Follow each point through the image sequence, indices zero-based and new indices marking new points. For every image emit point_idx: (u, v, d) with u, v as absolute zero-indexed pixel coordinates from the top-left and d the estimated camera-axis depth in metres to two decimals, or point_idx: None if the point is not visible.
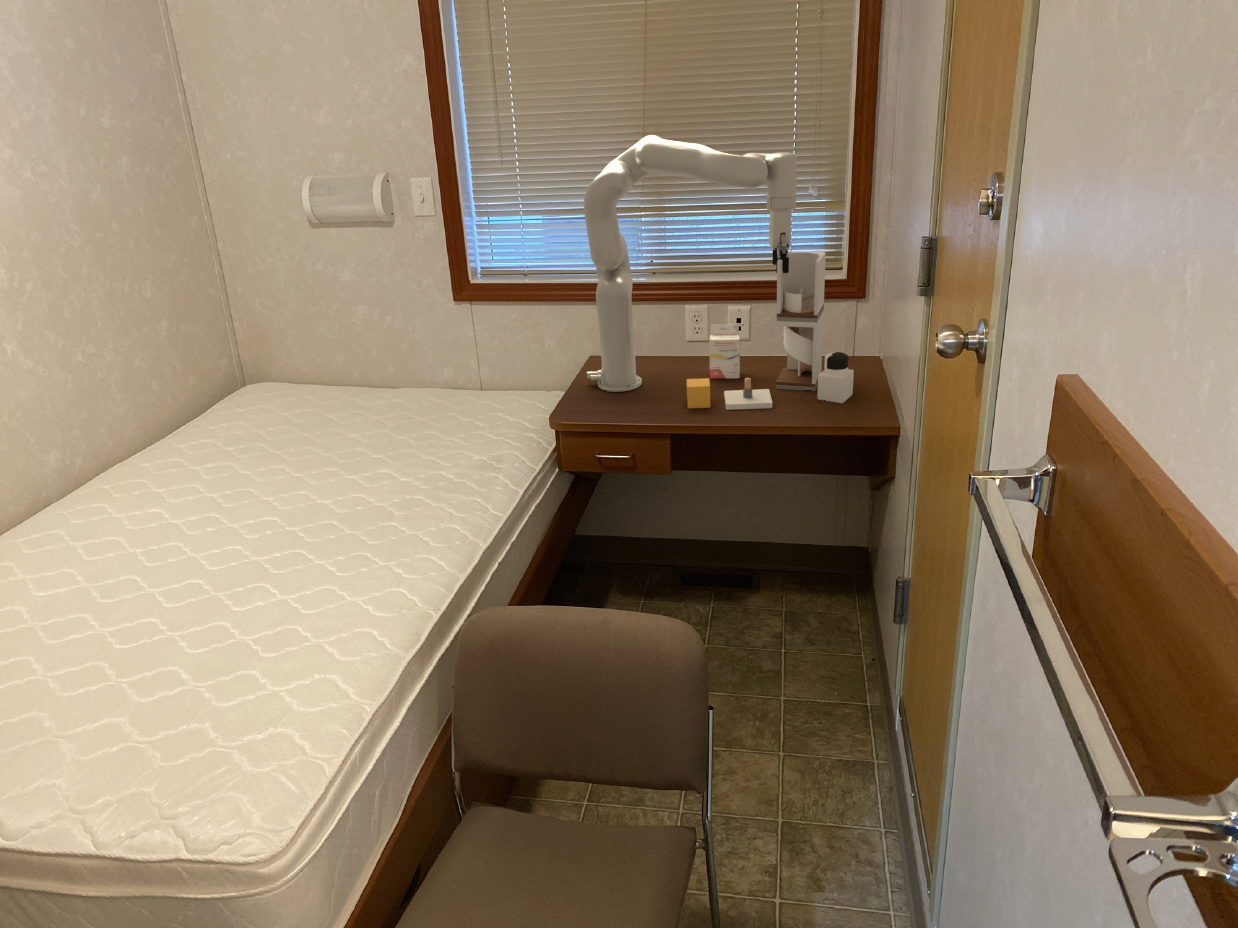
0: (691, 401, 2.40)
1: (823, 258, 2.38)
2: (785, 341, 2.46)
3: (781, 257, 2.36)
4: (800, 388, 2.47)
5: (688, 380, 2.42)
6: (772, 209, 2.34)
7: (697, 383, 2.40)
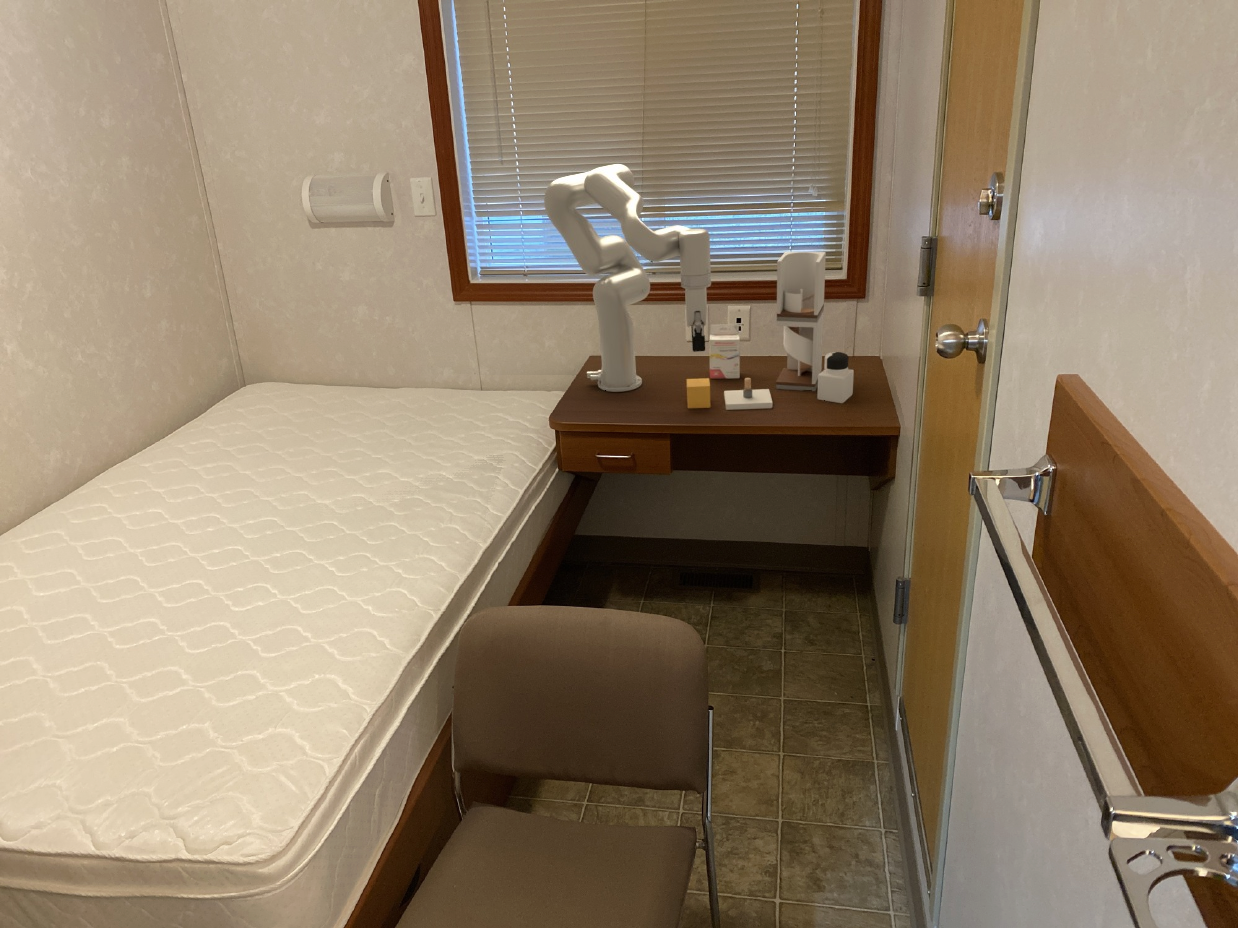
0: (691, 401, 2.40)
1: (823, 258, 2.38)
2: (785, 341, 2.46)
3: (696, 335, 2.28)
4: (800, 388, 2.47)
5: (688, 380, 2.42)
6: (686, 287, 2.27)
7: (697, 383, 2.40)
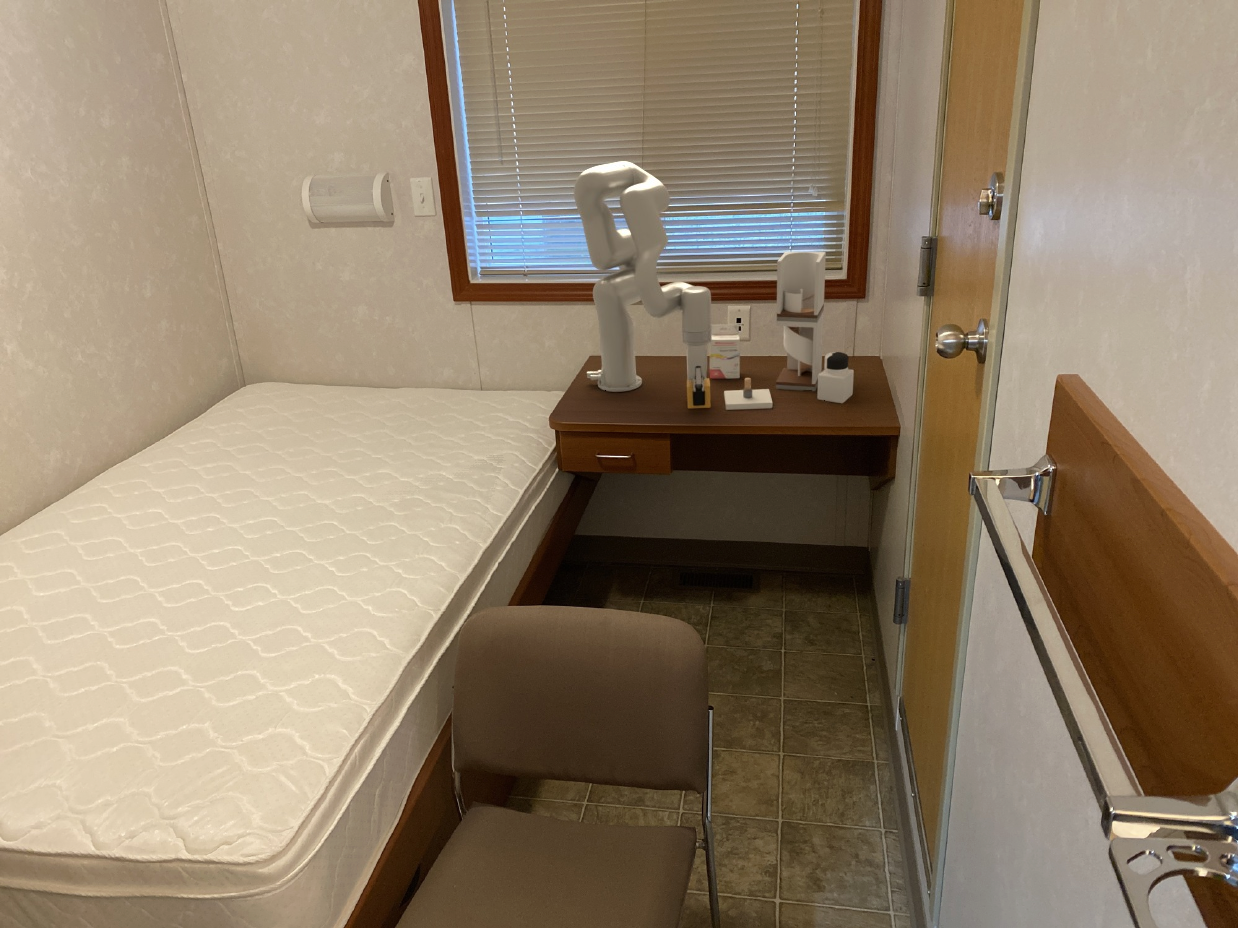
0: (691, 401, 2.40)
1: (823, 258, 2.38)
2: (785, 341, 2.46)
3: (697, 391, 2.36)
4: (800, 388, 2.47)
5: None
6: (687, 342, 2.33)
7: None
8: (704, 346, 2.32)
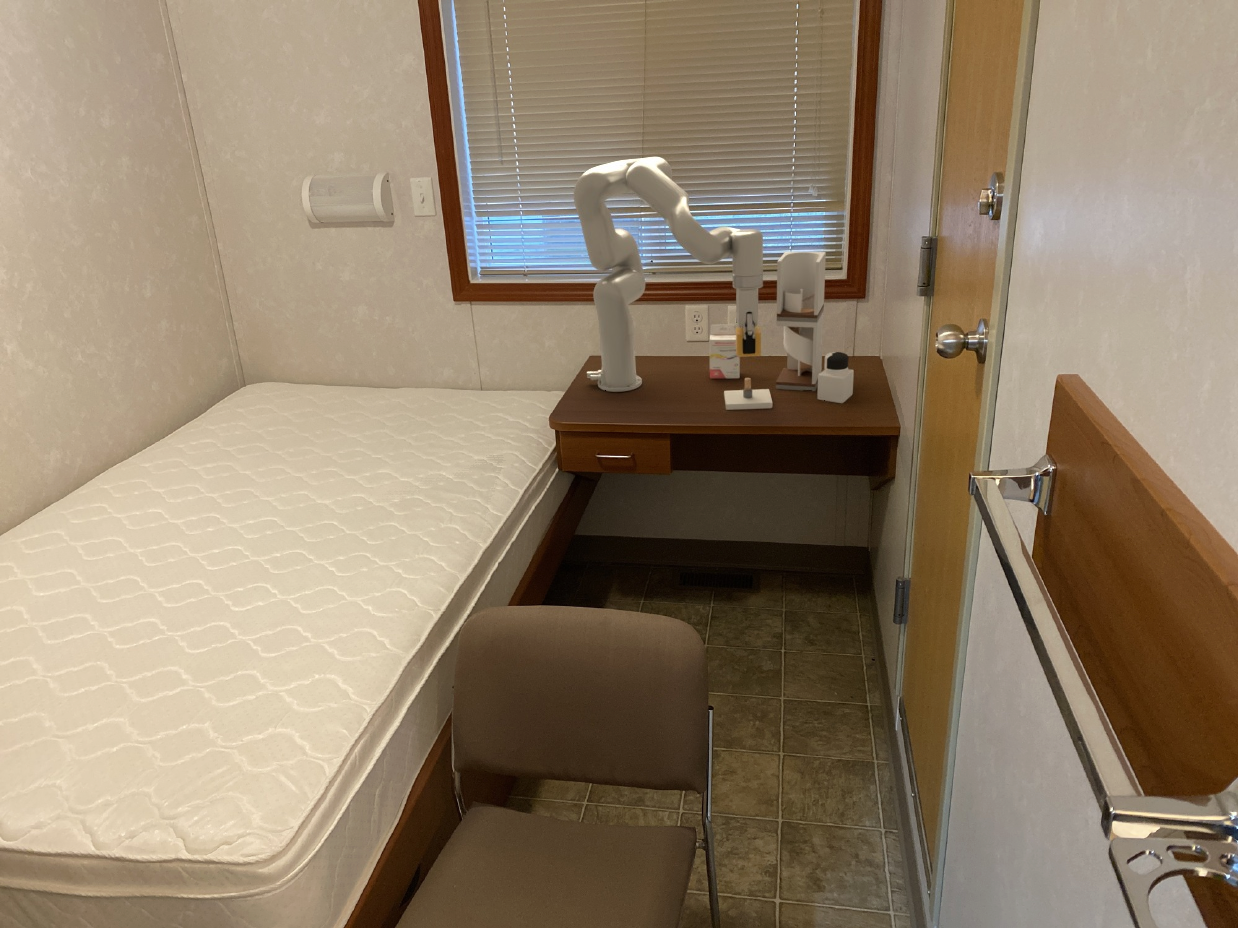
0: (741, 349, 2.33)
1: (823, 258, 2.38)
2: (785, 341, 2.46)
3: (747, 338, 2.30)
4: (800, 388, 2.47)
5: (737, 328, 2.35)
6: (738, 287, 2.26)
7: None
8: (756, 291, 2.25)
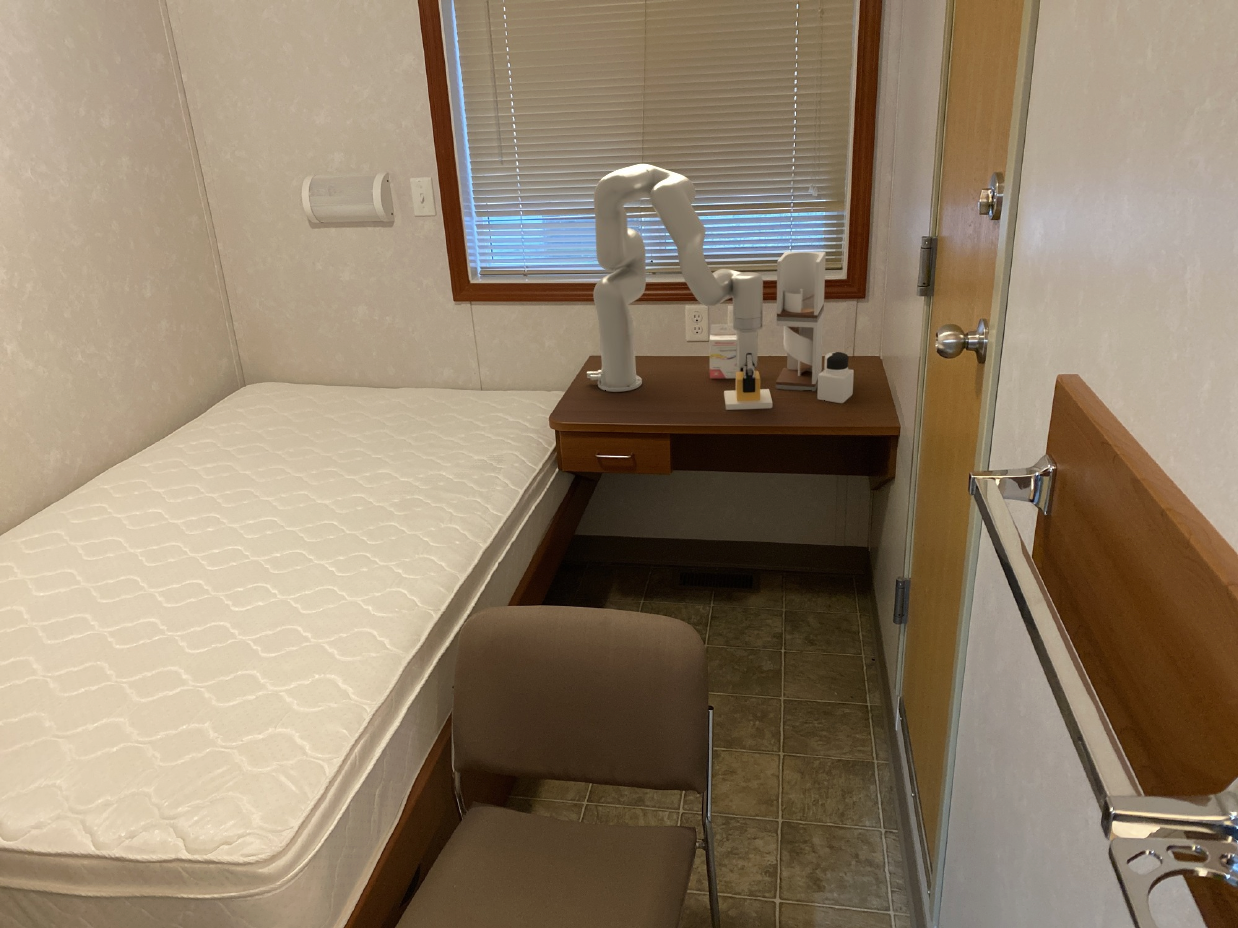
0: (741, 394, 2.38)
1: (823, 258, 2.38)
2: (785, 341, 2.46)
3: (747, 377, 2.33)
4: (800, 388, 2.47)
5: (737, 373, 2.41)
6: (738, 329, 2.31)
7: None
8: (755, 333, 2.30)
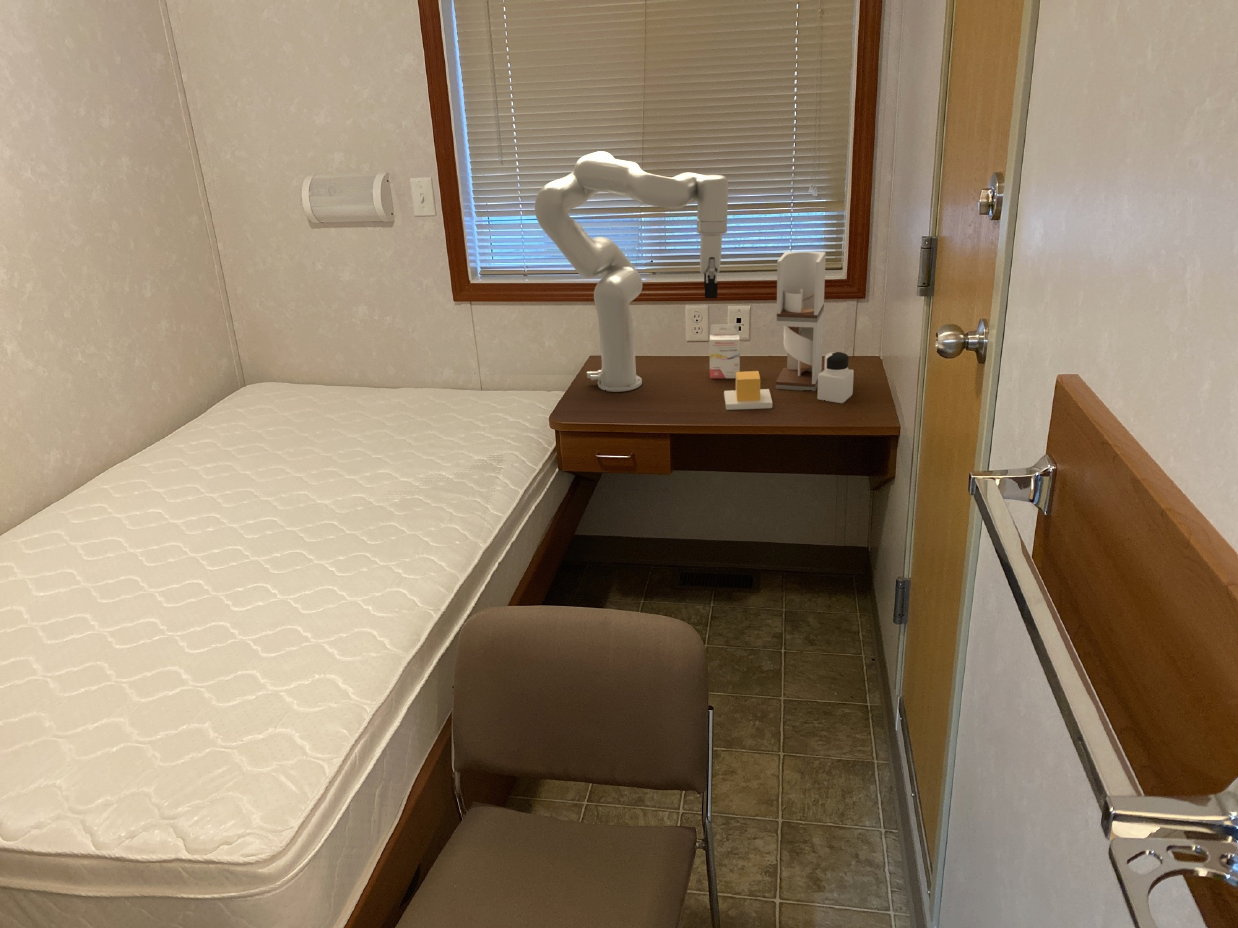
0: (741, 394, 2.38)
1: (823, 258, 2.38)
2: (785, 341, 2.46)
3: (709, 282, 2.30)
4: (800, 388, 2.47)
5: (737, 373, 2.41)
6: (702, 233, 2.28)
7: (746, 376, 2.38)
8: (719, 237, 2.27)
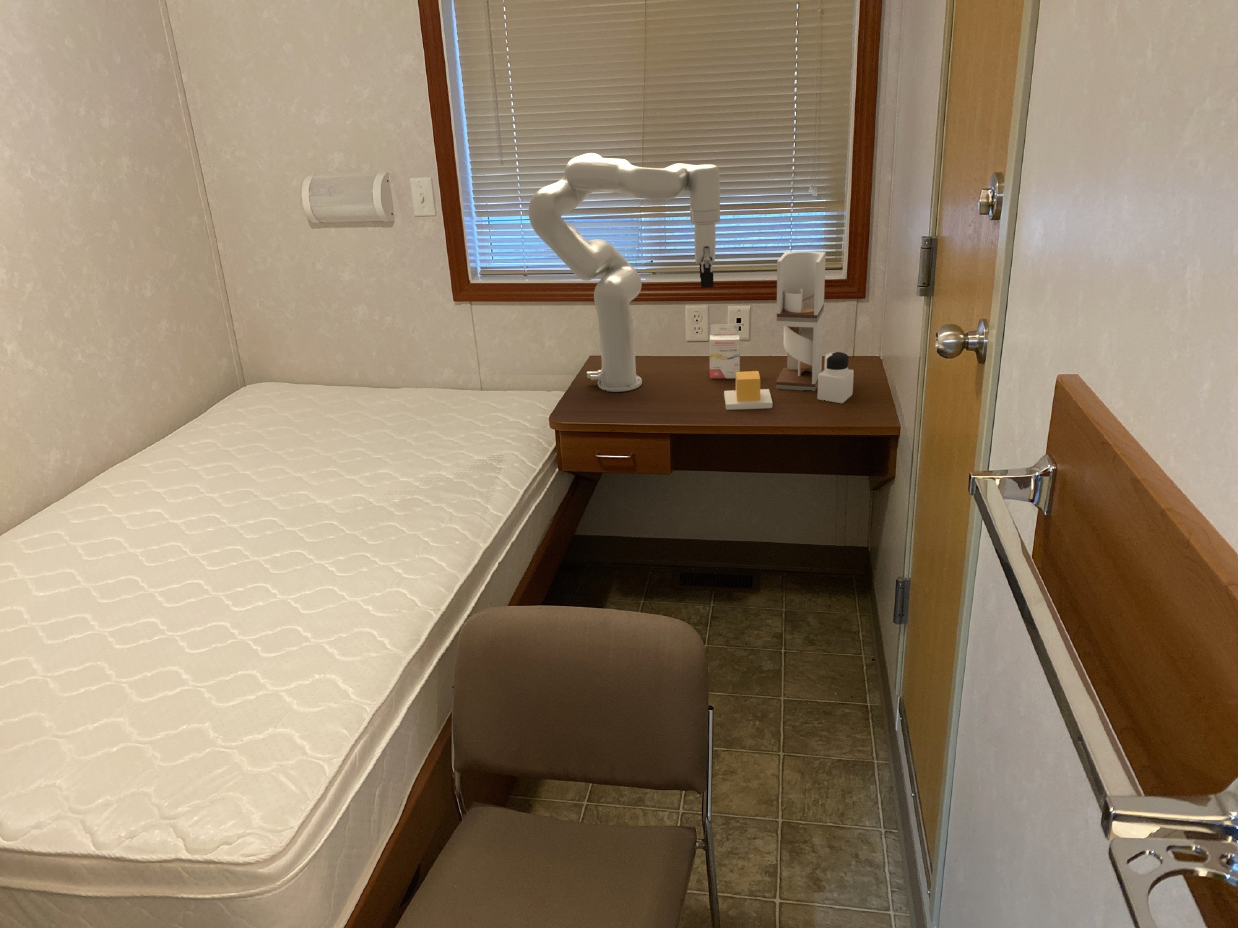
0: (741, 394, 2.38)
1: (823, 258, 2.38)
2: (785, 341, 2.46)
3: (705, 271, 2.31)
4: (800, 388, 2.47)
5: (737, 373, 2.41)
6: (695, 222, 2.29)
7: (746, 376, 2.38)
8: (712, 225, 2.28)
